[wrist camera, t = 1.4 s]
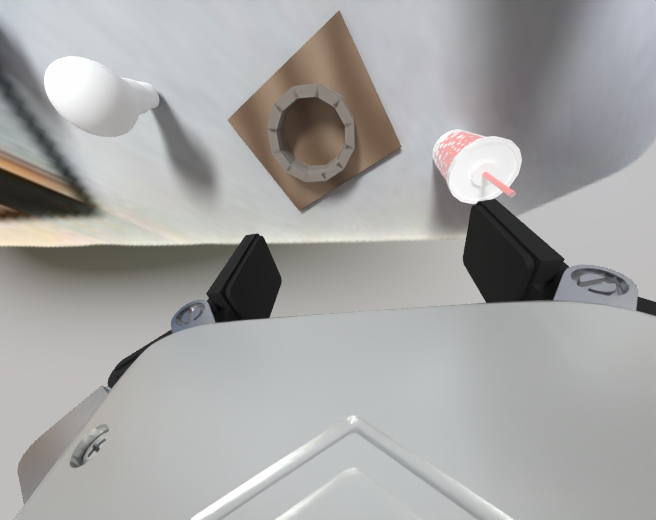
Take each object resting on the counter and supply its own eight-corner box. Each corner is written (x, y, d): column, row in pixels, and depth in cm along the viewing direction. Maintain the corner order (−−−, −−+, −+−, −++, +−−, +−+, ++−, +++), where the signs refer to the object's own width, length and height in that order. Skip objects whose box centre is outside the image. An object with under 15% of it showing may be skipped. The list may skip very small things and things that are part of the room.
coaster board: (339, 12, 23) (337, 1, 19) (400, 144, 29) (406, 153, 26) (230, 119, 29) (215, 124, 26) (300, 208, 36) (295, 220, 32)
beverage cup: (421, 175, 31) (458, 228, 20) (432, 121, 27) (486, 151, 16) (469, 175, 31) (534, 230, 20) (487, 121, 27) (581, 152, 16)
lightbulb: (189, 111, 29) (119, 125, 20) (155, 132, 31) (77, 153, 22) (150, 50, 26) (46, 35, 17) (113, 77, 27) (3, 77, 19)
